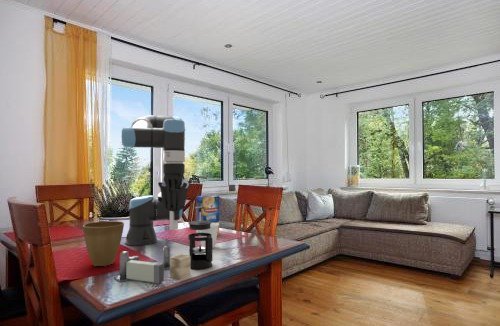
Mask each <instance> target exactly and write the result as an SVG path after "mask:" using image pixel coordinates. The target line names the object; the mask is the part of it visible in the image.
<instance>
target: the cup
mask: <svg viewBox="0 0 500 326" xmlns="http://www.w3.org/2000/svg"><path fill="white" fill-rule="evenodd" d="M218 225H219V226H220V223H219V224H218V223H211V224H210V229H206V230H201V233H210V234H212V249H214V248H216V244H217V243H216V242H217V236H218V235H217V232H218ZM201 237H207V236H201ZM201 247H205V241H201Z"/></svg>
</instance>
